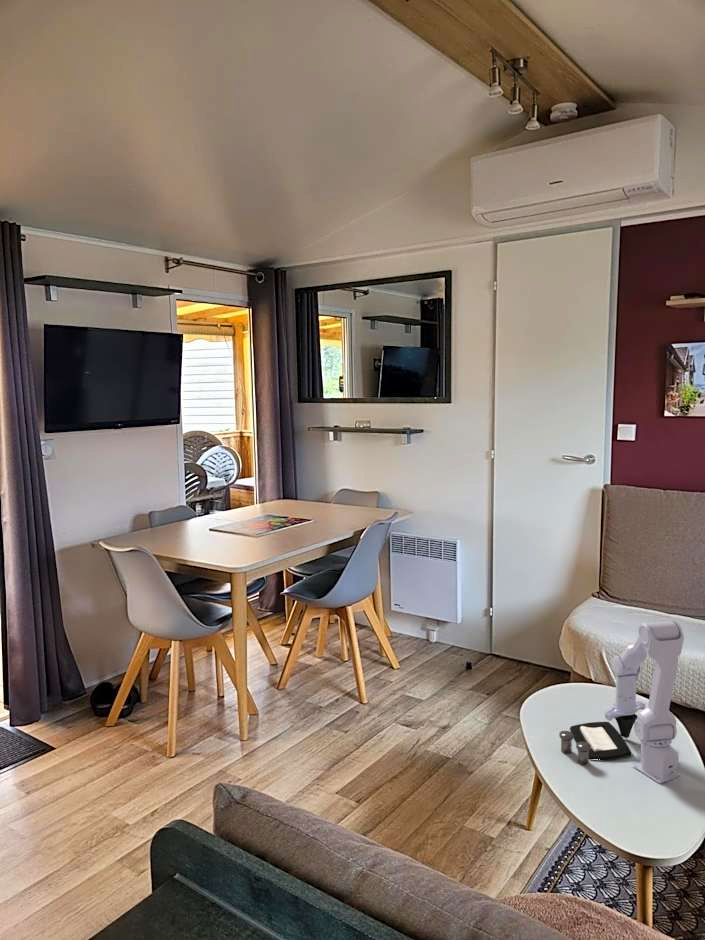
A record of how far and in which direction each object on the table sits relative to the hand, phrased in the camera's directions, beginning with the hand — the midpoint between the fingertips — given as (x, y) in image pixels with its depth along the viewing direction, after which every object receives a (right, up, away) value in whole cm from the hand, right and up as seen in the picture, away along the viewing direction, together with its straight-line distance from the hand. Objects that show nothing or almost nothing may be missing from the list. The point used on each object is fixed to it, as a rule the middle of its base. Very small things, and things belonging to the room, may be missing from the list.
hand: (624, 736), depth 216 cm
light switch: (-8, -2, -1) cm, 8 cm away
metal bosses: (-18, -3, -8) cm, 20 cm away
